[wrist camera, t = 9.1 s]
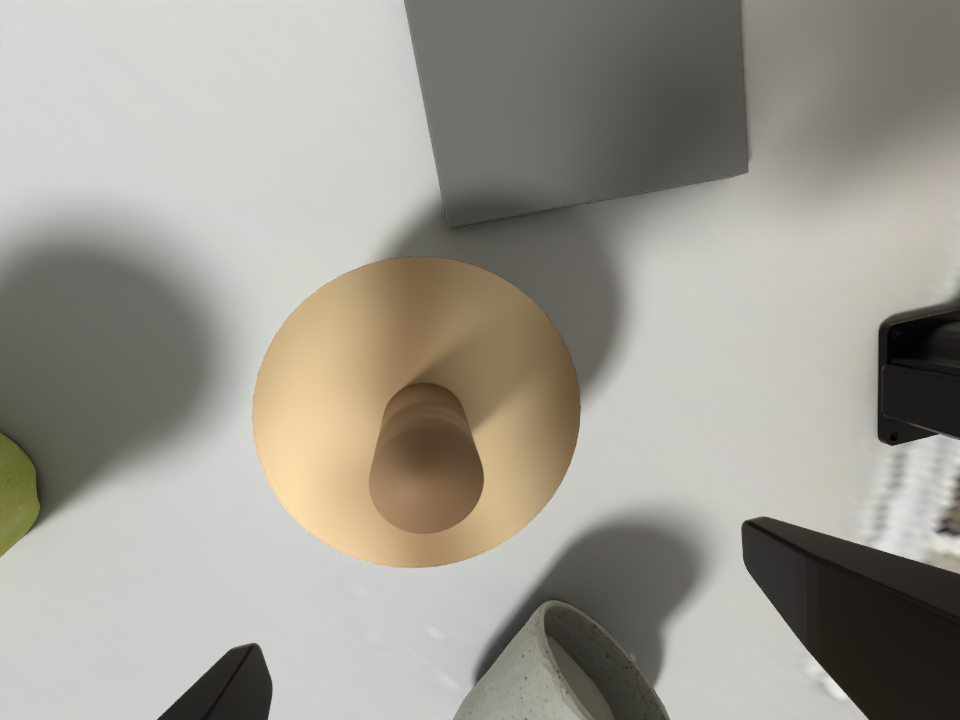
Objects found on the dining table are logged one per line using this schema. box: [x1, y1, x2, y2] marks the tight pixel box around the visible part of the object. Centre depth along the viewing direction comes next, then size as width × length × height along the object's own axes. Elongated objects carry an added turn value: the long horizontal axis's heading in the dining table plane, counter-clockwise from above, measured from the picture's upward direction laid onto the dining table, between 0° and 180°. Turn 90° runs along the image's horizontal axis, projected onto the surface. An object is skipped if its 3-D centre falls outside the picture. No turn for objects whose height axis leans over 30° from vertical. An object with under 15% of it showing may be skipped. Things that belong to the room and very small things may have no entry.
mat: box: [404, 0, 748, 229], centre depth 18 cm, size 13×13×1 cm
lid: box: [252, 257, 581, 568], centre depth 14 cm, size 11×11×5 cm
